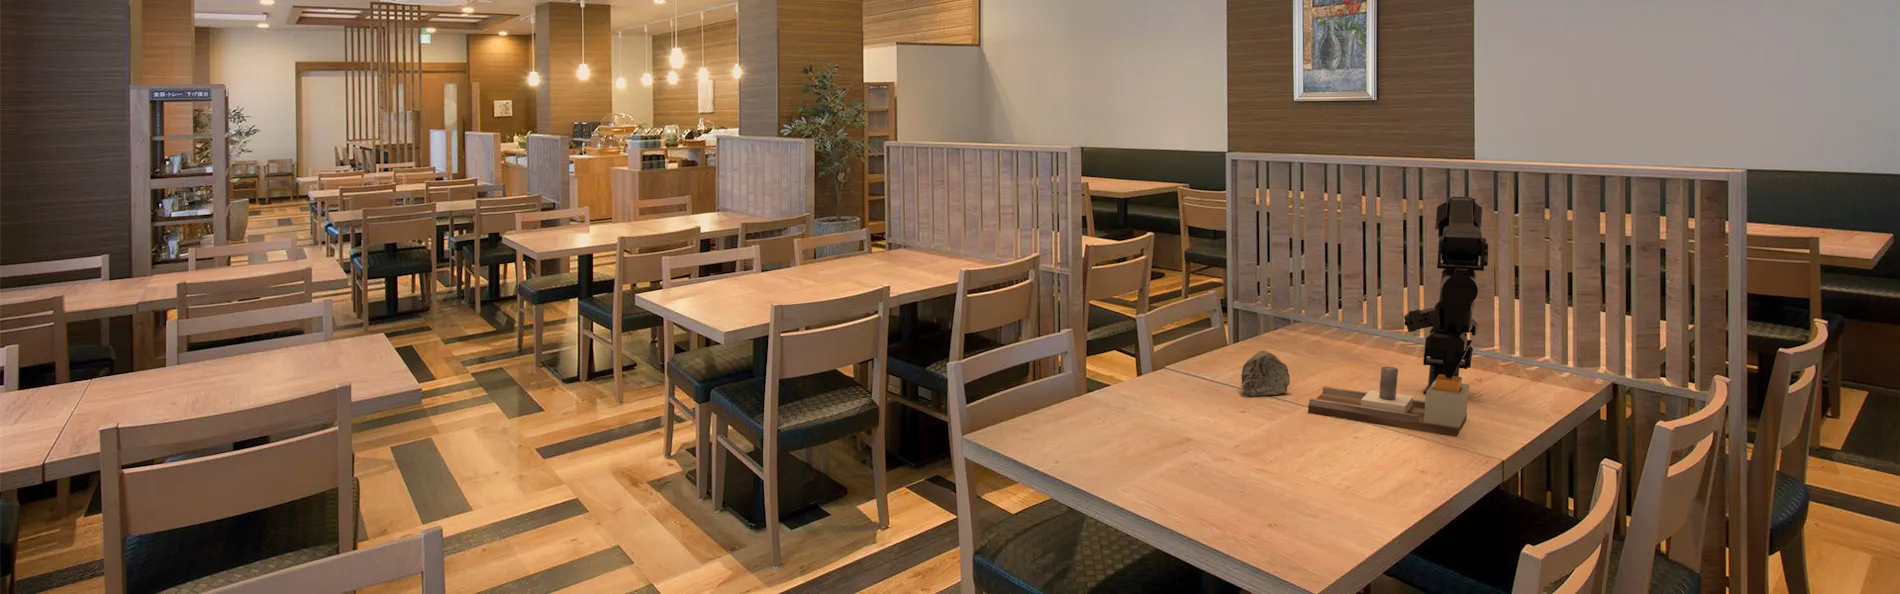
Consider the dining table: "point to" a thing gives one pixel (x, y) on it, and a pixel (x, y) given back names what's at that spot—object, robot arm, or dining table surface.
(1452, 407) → the button housing
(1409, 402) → the carriage
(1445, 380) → the button
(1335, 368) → the dining table surface
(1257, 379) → the stone
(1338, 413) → the track
